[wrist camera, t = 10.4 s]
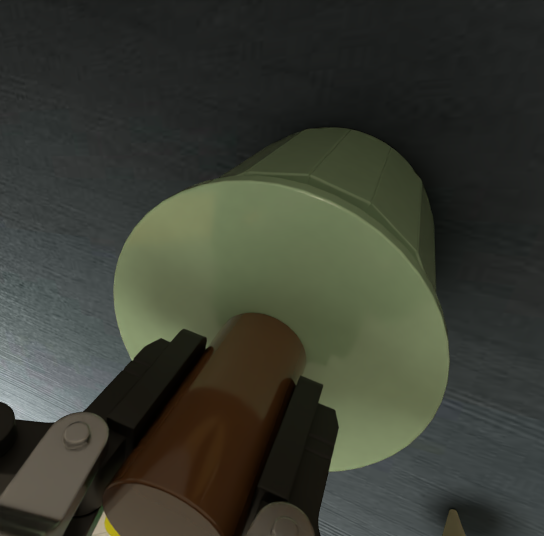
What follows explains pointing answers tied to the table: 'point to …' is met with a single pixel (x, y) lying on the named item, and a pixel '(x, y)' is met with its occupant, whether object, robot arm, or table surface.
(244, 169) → the tin
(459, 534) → the ice cream cone
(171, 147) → the table surface
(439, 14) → the table surface
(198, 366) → the lid
